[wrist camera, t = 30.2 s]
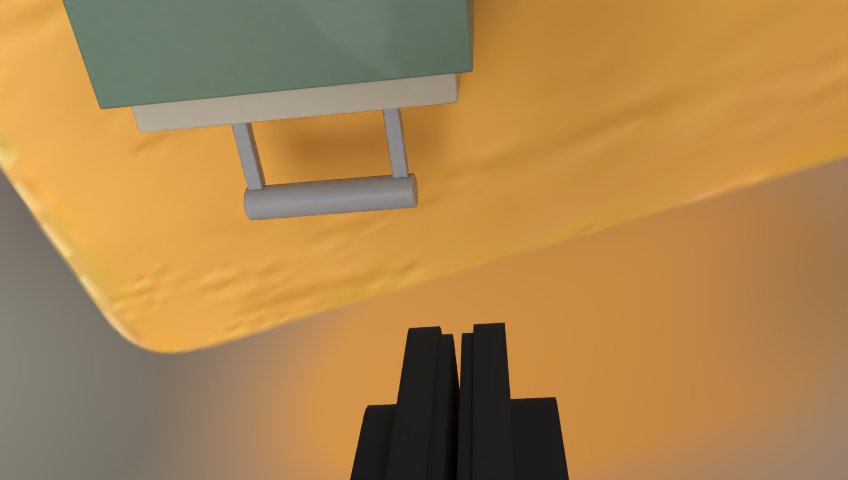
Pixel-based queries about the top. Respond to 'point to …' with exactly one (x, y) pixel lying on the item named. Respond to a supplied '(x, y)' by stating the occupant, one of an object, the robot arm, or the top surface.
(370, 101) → the drawer
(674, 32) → the top surface
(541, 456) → the robot arm
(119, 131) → the top surface
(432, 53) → the cabinet
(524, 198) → the top surface
